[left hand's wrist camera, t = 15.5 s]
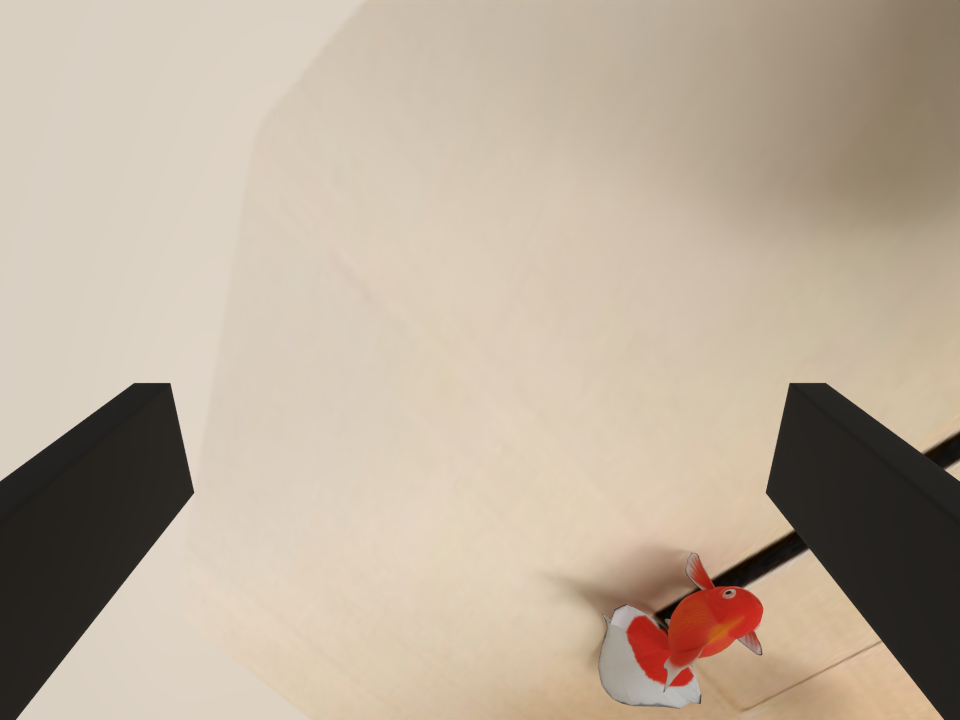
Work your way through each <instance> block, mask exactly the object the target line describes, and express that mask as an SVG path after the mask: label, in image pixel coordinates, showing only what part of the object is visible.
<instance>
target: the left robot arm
mask: <svg viewBox="0 0 960 720" xmlns="http://www.w3.org/2000/svg"><path fill="white" fill-rule="evenodd" d="M193 494H194V490H193V485H192V480H191V476H190V471H189V467H188V462H187V457H186V453H185V448H184V444H183V439H182V434H181V430H180V425H179V421H178V416H177V412H176V407H175V402H174V398H173V393H172V389H171V384H170V383H134V384H132V385H131V386H130V387H128V388H127V389H126V390H124V391H123V392H121V393H120V394H119V395H117V396H116V397H115V398H113V399H112V400H111V401H109V402H108V403H106V404H105V405H104V406H102V407H101V408H100V409H98V410H97V411H96V412H94V413H93V414H91V415H90V416H89V417H87V418H86V419H85V420H83V421H82V422H81V423H79V424H78V425H77V426H75V427H74V428H72V429H71V430H70V431H68V432H67V433H66V434H64V435H63V436H61V437H60V438H59V439H57V440H56V441H55V442H53V443H52V444H51V445H49V446H48V447H47V448H45V449H44V450H42V451H41V452H40V453H38V454H37V455H36V456H34V457H33V458H31V459H30V460H29V461H27V462H26V463H25V464H23V465H22V466H21V467H19V468H18V469H16V470H15V471H14V472H12V473H11V474H10V475H8V476H7V477H6V478H4V479H3V480H1V481H0V720H16V719H17V718H18V716H19V715H20V714H21V712H22V711H23V710H24V709H25V707H26V706H27V705H28V704H29V702H30V701H31V700H32V699H33V697H34V696H35V695H36V693H37V692H38V691H39V690H40V688H41V687H42V686H43V685H44V683H45V682H46V681H47V679H48V678H49V677H50V676H51V674H52V673H53V672H54V670H55V669H56V668H57V667H58V665H59V664H60V663H61V662H62V660H63V659H64V658H65V657H66V655H67V654H68V653H69V651H70V650H71V649H72V648H73V646H74V645H75V644H76V642H77V641H78V640H79V639H80V637H81V636H82V635H83V634H84V632H85V631H86V630H87V629H88V627H89V626H90V625H91V623H92V622H93V621H94V620H95V618H96V617H97V616H98V615H99V613H100V612H101V611H102V609H103V608H104V607H105V606H106V604H107V603H108V602H109V600H110V599H111V598H112V597H113V595H114V594H115V593H116V592H117V590H118V589H119V588H120V587H121V585H122V584H123V583H124V581H125V580H126V579H127V578H128V576H129V575H130V574H131V573H132V571H133V570H134V569H135V568H136V566H137V565H138V564H139V562H140V561H141V560H142V559H143V557H144V556H145V555H146V554H147V552H148V551H149V550H150V548H151V547H152V546H153V545H154V543H155V542H156V541H157V540H158V538H159V537H160V536H161V534H162V533H163V532H164V531H165V529H166V528H167V527H168V526H169V524H170V523H171V522H172V520H173V519H174V518H175V517H176V515H177V514H178V513H179V512H180V510H181V509H182V508H183V506H184V505H185V504H186V503H187V501H188V500H189V499H190V498H191V496H192V495H193ZM766 494H767V495H768V496H769V498H770V499H771V500H772V501H773V503H774V504H775V505H776V506H777V508H778V509H779V510H780V512H781V513H782V514H783V515H784V517H785V518H786V519H787V520H788V522H789V523H790V524H791V526H792V527H793V528H794V529H795V531H796V532H797V533H798V534H799V536H800V537H801V538H802V540H803V541H804V542H805V543H806V545H807V546H808V547H809V548H810V550H811V551H812V552H813V554H814V555H815V556H816V557H817V559H818V560H819V561H820V562H821V564H822V565H823V566H824V568H825V569H826V570H827V571H828V573H829V574H830V575H831V576H832V578H833V579H834V580H835V582H836V583H837V584H838V585H839V587H840V588H841V589H842V590H843V592H844V593H845V594H846V595H847V597H848V598H849V599H850V601H851V602H852V603H853V604H854V606H855V607H856V608H857V609H858V611H859V612H860V613H861V615H862V616H863V617H864V618H865V620H866V621H867V622H868V623H869V625H870V626H871V627H872V629H873V630H874V631H875V632H876V634H877V635H878V636H879V637H880V639H881V640H882V641H883V643H884V644H885V645H886V646H887V648H888V649H889V650H890V651H891V653H892V654H893V655H894V657H895V658H896V659H897V660H898V662H899V663H900V664H901V665H902V667H903V668H904V669H905V671H906V672H907V673H908V674H909V676H910V677H911V678H912V679H913V681H914V682H915V683H916V685H917V686H918V687H919V688H920V690H921V691H922V692H923V693H924V695H925V696H926V697H927V699H928V700H929V701H930V702H931V704H932V705H933V706H934V707H935V709H936V710H937V711H938V713H939V714H940V715H941V716H942V718H943V719H944V720H960V481H959V480H957V479H956V478H954V477H953V476H952V475H950V474H949V473H948V472H946V471H945V470H944V469H942V468H941V467H939V466H938V465H937V464H935V463H934V462H933V461H931V460H930V459H929V458H927V457H926V456H924V455H923V454H922V453H920V452H919V451H918V450H916V449H915V448H914V447H912V446H911V445H909V444H908V443H907V442H905V441H904V440H903V439H901V438H900V437H899V436H897V435H896V434H894V433H893V432H892V431H890V430H889V429H888V428H886V427H885V426H884V425H882V424H881V423H879V422H878V421H877V420H875V419H874V418H873V417H871V416H870V415H869V414H867V413H866V412H864V411H863V410H862V409H860V408H859V407H858V406H856V405H855V404H854V403H852V402H851V401H849V400H848V399H847V398H845V397H844V396H843V395H841V394H840V393H839V392H837V391H836V390H834V389H833V388H832V387H830V386H829V385H828V384H826V383H790V384H789V389H788V393H787V398H786V402H785V407H784V412H783V416H782V421H781V425H780V430H779V434H778V439H777V444H776V448H775V453H774V457H773V462H772V467H771V471H770V476H769V480H768V485H767V490H766Z"/></svg>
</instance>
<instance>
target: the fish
mask: <svg viewBox="0 0 960 720" xmlns="http://www.w3.org/2000/svg"><path fill="white" fill-rule="evenodd" d="M686 574H687V576H688V577H689V578H690V579H691V581H692V582H693V583H694V584H695V585H696V586H697V587H699V588H700V589H701V591H698V592H696V593H693V594H691V595H689V596H687V597H686V598H684V599H683V600H682V601H681V602H680V604H679V605H678V606H677V608H676V609H675V611H674V612H673V614H672V616H671V619H665V622H666V623H667V624H668V626H669V630H668V632H667V630H666V629H665V627H663V626H662V625H660V624H659V623H658V622H656V621H655V620H654V619H652V618H651V617H649V616H648V615H647V614H645V613H643V612H641V611H639V610H638V609H635V608H633V607H631V606H629V605H626V604H625V605H623V606H621V607H619V608H617V609H615V610H614V614H613V617H612V620H611V619H610V618H609V617H607V616H605V615H603V614H602V615H603V616H604V618H605V620H606V624H607V632H606V635H605V637H604V641H603V645H602V649H601V653H600V657H599V664H598V669H599V674H600V679H601V684H602V686H603V688H604V689H605V691H606V692H607V693H608V694H609V695H610V696H611V698H612V699H614V700H616V701H618V702H620V703H623V704H627V705H631V706H658V707H671V708H678V709H680V708H682V707H683V706H685V705H687V704H689V703H699V704H701V692H700V688H699V684H698V681H697V678H696V676H695V673H694V670H693V668H692V664H693V663H694V662H695V660H696V659H697V658H703V657H708V656H712V655H714V654H717V653H719V652H721V651H722V650H724V649H725V648H727V647H728V646H730V645H731V644H732V643H733V641H734V640H735V639H738V640H739V641H740V642H741V643H743V644H744V645H745V646H747V647H748V648H749V649H750V650H752V651H753V652H755V653H756V654H758V655H762V649H761V645H760V642H759V641H758V639H757V636H756V634H755V632H754V630H756V629H757V628H758V627H759V625H760V621H761V618H762V614H763V606H762V604H761V602H760V600H759V599H758V598H757V597H756V596H755V595H754V594H752V593H751V592H749V591H747V590H745V589H743V588H740V587H734V586H729V587H716V588H715V586H714V585H713V583H712V581H711V580H710V578H709V577H708V575H707V573H706V571H705V569H704V567H703V566H702V563H701V561H700V559H699V556H698V555H697V554H696V553H691V555H690V557H689V558H688V561H687V565H686Z"/></svg>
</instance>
